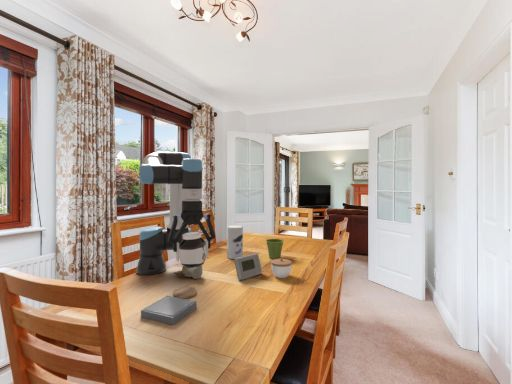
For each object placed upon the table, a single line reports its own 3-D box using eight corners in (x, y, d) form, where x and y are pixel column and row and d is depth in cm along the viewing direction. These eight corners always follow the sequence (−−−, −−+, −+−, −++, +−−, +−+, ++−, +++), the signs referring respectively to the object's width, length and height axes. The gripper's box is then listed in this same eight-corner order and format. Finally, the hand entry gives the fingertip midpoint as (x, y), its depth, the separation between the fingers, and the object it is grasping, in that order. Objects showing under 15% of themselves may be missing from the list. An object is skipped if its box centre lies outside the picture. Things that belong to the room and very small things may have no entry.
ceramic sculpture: (193, 264, 132) (171, 261, 140) (194, 282, 132) (172, 278, 140) (208, 259, 141) (187, 257, 149) (208, 276, 141) (187, 273, 149)
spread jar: (196, 270, 96) (193, 237, 96) (168, 268, 100) (166, 236, 99) (211, 259, 108) (209, 229, 107) (186, 257, 111) (184, 229, 110)
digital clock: (238, 281, 134) (238, 260, 134) (230, 276, 142) (230, 255, 142) (266, 276, 143) (266, 255, 142) (256, 271, 150) (257, 251, 150)
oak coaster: (167, 296, 116) (167, 294, 116) (182, 288, 125) (182, 286, 125) (187, 300, 112) (187, 298, 112) (201, 291, 122) (201, 289, 122)
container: (236, 260, 171) (236, 228, 170) (224, 257, 176) (224, 226, 175) (245, 256, 179) (245, 226, 178) (233, 254, 184) (233, 224, 184)
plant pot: (287, 257, 179) (287, 239, 178) (278, 261, 169) (278, 243, 168) (271, 254, 185) (271, 237, 185) (262, 258, 175) (262, 240, 175)
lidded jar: (294, 274, 145) (294, 257, 144) (287, 281, 135) (288, 262, 135) (275, 271, 149) (275, 254, 149) (267, 277, 140) (267, 259, 139)
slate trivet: (140, 317, 98) (140, 310, 98) (167, 301, 111) (167, 295, 111) (172, 325, 93) (172, 317, 93) (196, 307, 106) (196, 300, 106)
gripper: (161, 201, 95) (161, 265, 96) (224, 200, 105) (223, 257, 105) (159, 200, 102) (159, 259, 103) (218, 198, 111) (218, 253, 112)
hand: (192, 258), depth 104 cm, fingers closed on spread jar, 10 cm apart
